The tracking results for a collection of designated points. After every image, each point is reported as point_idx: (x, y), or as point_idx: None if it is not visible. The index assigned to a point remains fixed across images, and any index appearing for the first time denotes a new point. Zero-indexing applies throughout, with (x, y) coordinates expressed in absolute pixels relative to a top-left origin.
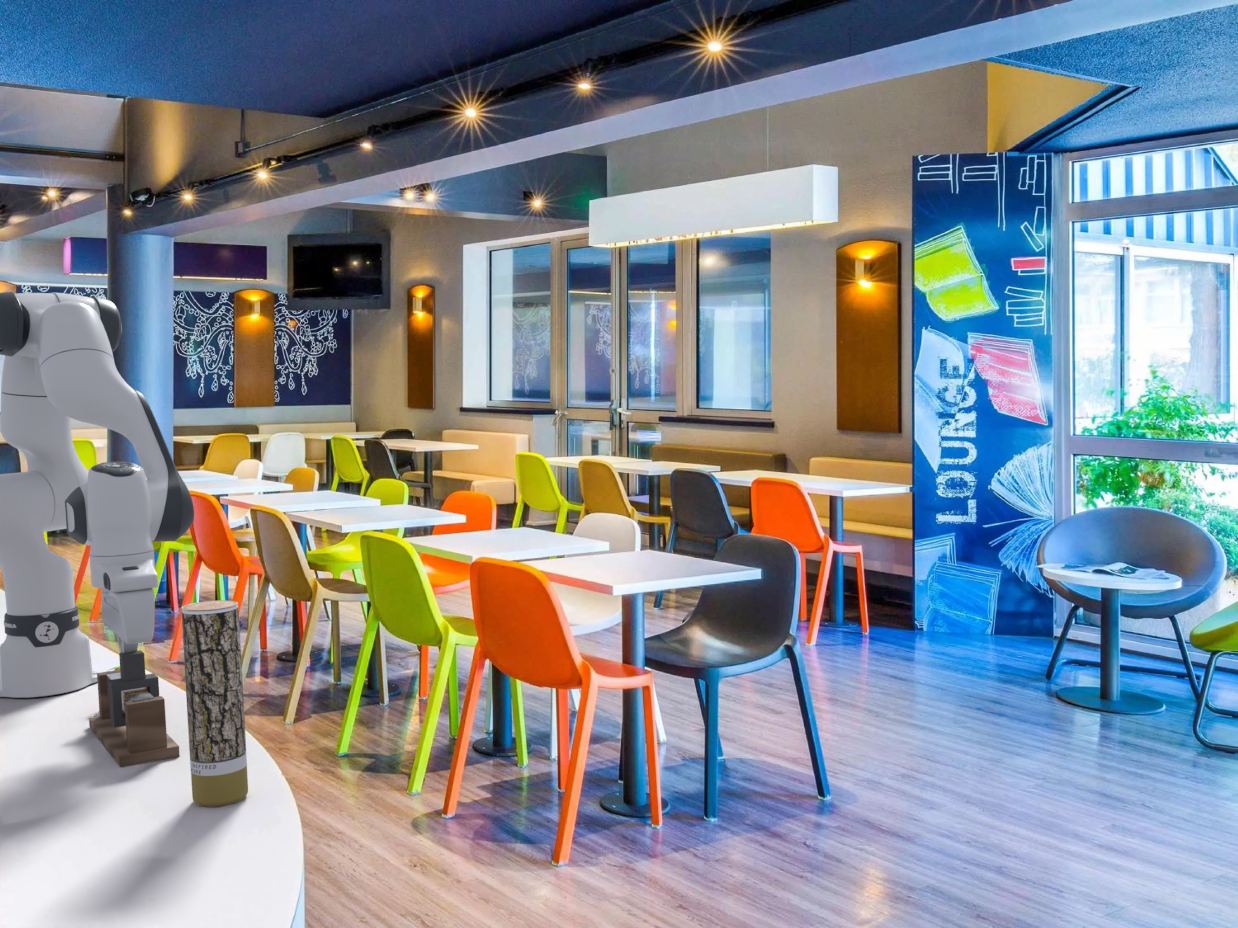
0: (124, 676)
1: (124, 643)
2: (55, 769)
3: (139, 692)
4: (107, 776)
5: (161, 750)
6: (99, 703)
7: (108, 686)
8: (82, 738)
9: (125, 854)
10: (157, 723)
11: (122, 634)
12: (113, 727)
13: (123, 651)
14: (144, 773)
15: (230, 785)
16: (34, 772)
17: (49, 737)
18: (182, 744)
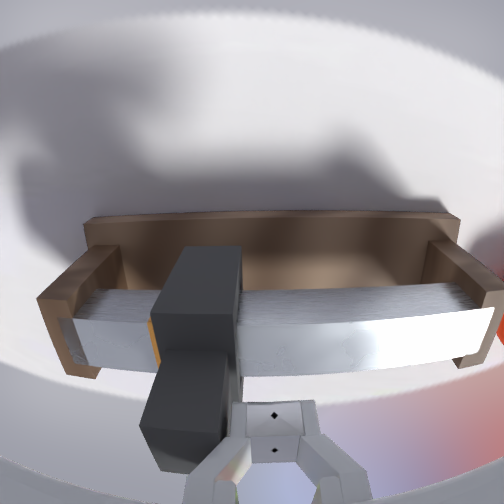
0: (162, 364)
1: (187, 482)
2: (150, 96)
3: (157, 355)
4: (54, 190)
5: None
6: (462, 253)
7: (232, 299)
8: (379, 181)
9: None
10: None
11: (22, 492)
12: (344, 250)
13: (221, 447)
14: (46, 248)
15: None
16: (156, 56)
17: (433, 125)
18: None
